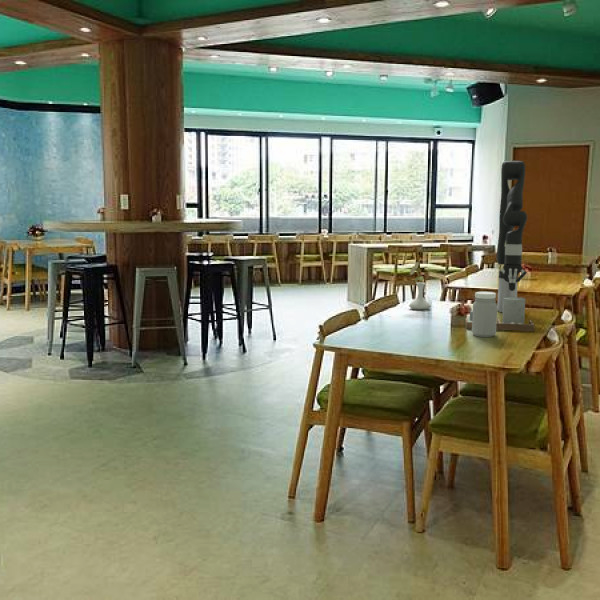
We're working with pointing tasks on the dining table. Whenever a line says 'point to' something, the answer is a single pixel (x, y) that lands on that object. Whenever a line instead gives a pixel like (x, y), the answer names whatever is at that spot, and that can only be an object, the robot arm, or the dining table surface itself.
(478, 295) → the jar
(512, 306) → the speckled white canister
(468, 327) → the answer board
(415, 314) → the dining table surface
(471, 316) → the block slate
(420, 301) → the flower in vase
